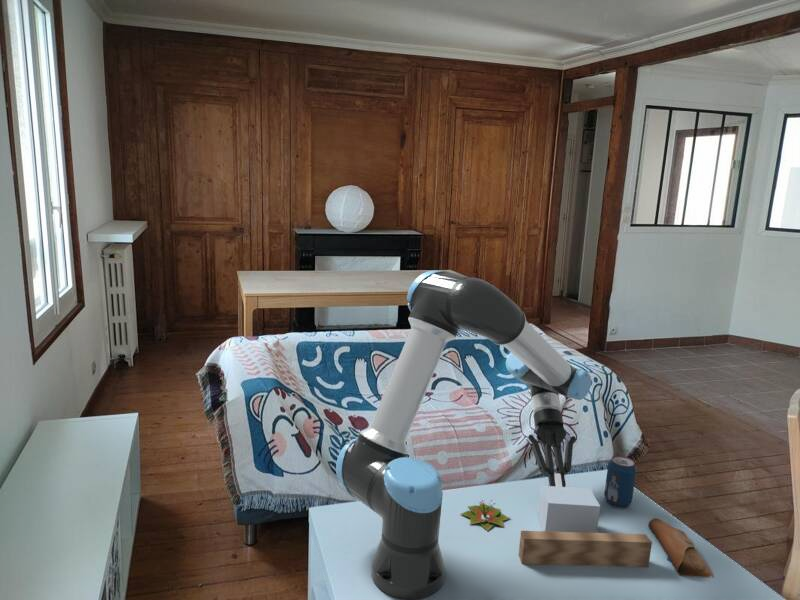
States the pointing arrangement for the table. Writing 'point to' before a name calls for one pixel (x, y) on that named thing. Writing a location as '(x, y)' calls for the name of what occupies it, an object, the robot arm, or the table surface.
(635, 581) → the table surface
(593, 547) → the walnut board
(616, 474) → the soda can
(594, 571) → the table surface
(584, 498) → the white block
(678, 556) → the sunglasses case
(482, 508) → the lily flower
